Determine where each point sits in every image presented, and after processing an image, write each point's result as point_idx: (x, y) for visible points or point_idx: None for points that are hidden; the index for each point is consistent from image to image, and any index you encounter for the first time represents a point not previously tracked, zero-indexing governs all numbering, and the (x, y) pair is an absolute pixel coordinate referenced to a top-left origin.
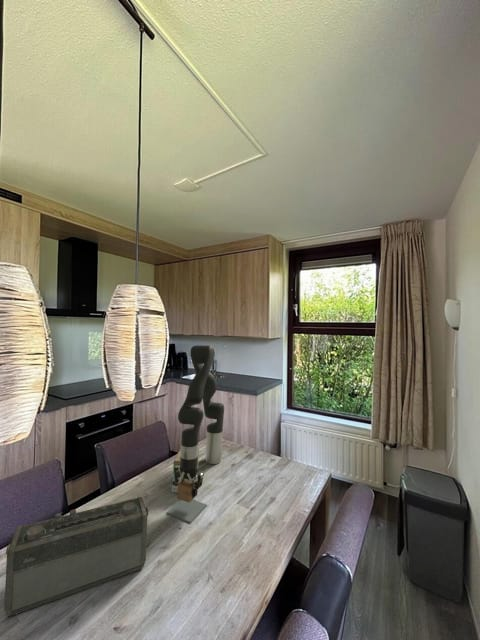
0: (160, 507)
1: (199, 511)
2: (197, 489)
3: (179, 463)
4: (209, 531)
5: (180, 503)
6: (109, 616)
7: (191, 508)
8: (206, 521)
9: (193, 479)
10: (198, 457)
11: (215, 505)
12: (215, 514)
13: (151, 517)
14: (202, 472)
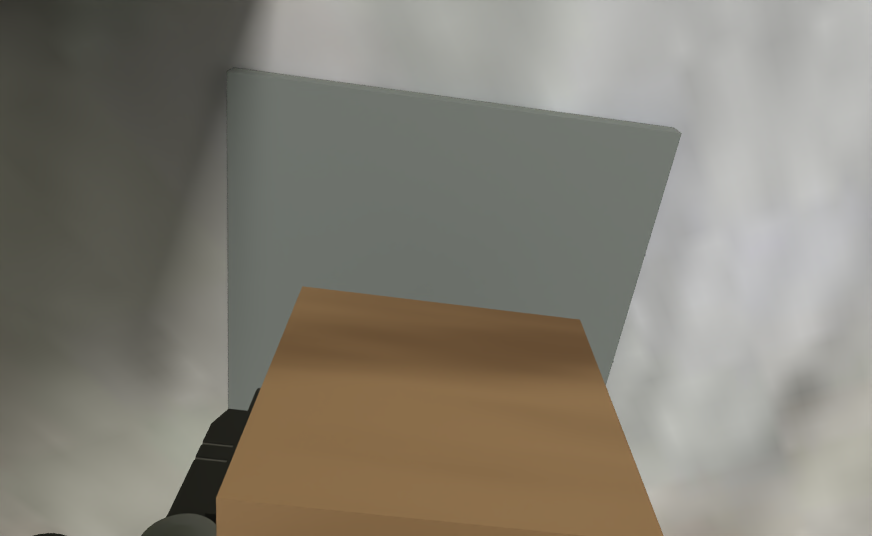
0: (83, 365)
1: (617, 301)
2: (603, 391)
3: None
4: (811, 487)
5: (281, 250)
6: None
7: (485, 285)
8: (745, 385)
9: (498, 531)
10: None
11: (810, 62)
12: (840, 246)
13: (127, 511)
14: None
